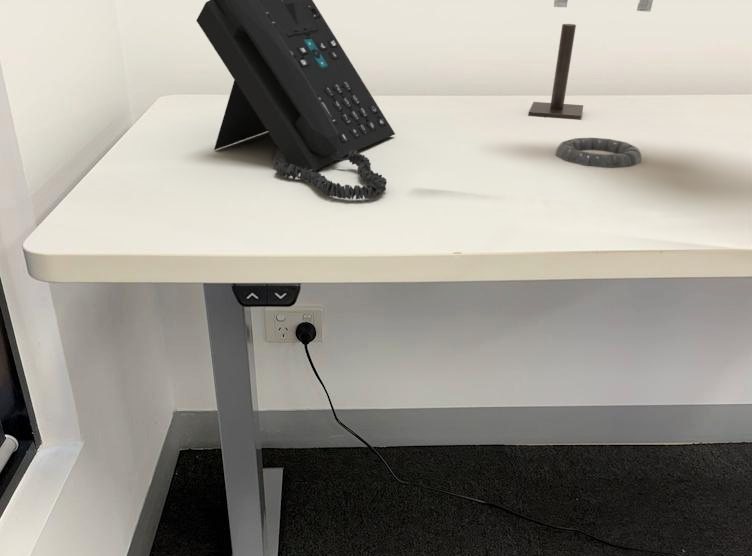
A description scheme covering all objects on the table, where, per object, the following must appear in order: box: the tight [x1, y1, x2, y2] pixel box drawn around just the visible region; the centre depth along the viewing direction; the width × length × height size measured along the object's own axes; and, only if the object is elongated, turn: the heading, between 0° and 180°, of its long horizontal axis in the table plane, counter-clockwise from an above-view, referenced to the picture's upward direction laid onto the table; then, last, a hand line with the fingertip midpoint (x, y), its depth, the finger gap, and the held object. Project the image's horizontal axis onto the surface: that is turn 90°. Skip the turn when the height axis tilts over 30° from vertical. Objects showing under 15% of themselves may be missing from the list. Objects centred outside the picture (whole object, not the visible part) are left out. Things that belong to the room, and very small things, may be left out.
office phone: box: [195, 0, 396, 200], centre depth 92 cm, size 29×28×20 cm
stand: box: [527, 23, 584, 121], centre depth 116 cm, size 8×8×13 cm
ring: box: [554, 137, 642, 169], centre depth 95 cm, size 10×10×2 cm
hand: (601, 8), depth 88 cm, fingers open, 8 cm apart
